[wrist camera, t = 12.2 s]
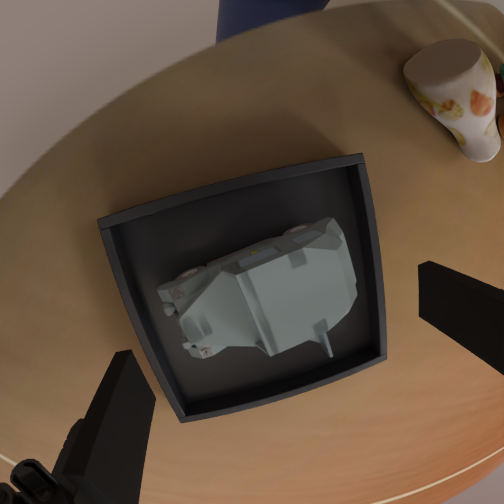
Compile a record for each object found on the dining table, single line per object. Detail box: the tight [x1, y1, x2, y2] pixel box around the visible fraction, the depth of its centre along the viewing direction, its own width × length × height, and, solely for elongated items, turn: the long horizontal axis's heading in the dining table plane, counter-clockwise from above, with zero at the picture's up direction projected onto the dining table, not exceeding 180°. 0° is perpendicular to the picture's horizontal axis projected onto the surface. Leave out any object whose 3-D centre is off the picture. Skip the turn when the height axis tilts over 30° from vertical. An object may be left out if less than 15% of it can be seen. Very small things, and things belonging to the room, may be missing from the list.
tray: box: [97, 153, 387, 423], centre depth 17 cm, size 14×15×2 cm
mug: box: [403, 39, 500, 162], centre depth 15 cm, size 8×10×10 cm
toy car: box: [157, 217, 357, 359], centre depth 15 cm, size 6×10×5 cm, turn 111°
